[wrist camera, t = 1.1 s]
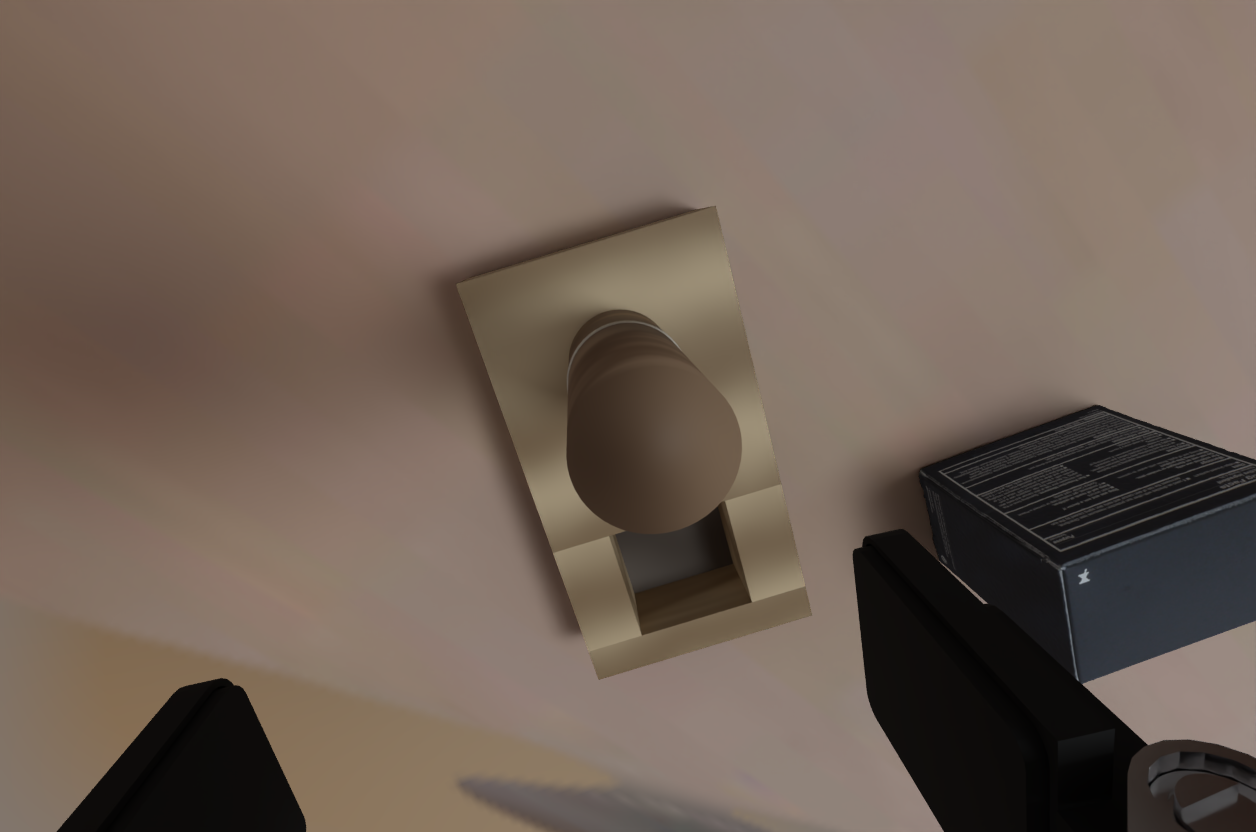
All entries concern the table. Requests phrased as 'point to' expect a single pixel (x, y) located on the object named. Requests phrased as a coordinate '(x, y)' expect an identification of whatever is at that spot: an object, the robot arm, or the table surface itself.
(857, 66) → the table surface
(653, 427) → the peg
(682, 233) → the board
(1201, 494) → the small box
